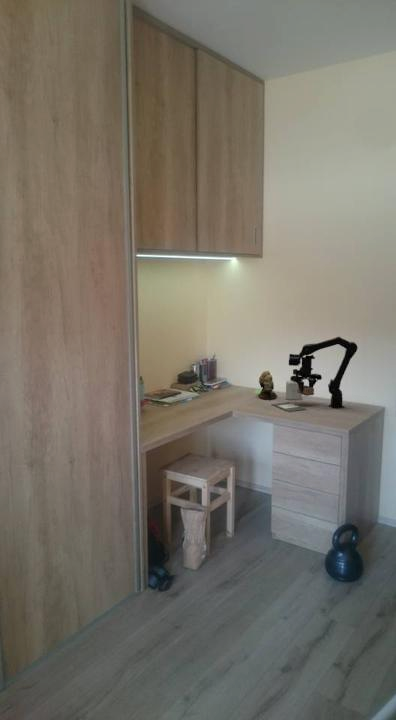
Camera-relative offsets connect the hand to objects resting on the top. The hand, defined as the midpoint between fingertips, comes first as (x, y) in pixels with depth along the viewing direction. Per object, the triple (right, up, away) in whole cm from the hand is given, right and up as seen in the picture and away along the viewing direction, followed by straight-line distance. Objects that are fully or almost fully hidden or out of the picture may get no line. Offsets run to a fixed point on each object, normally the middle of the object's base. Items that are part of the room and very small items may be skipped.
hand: (305, 392), depth 309 cm
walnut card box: (0, -1, 0) cm, 1 cm away
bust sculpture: (-19, -5, +22) cm, 29 cm away
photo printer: (-4, -5, +17) cm, 18 cm away
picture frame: (-11, -9, -4) cm, 14 cm away
